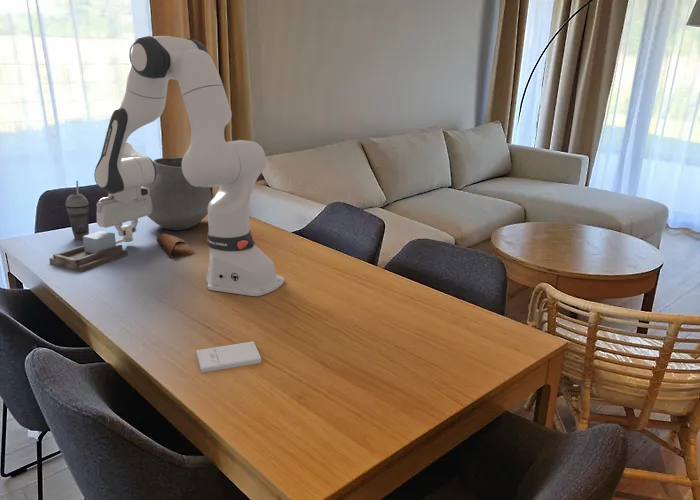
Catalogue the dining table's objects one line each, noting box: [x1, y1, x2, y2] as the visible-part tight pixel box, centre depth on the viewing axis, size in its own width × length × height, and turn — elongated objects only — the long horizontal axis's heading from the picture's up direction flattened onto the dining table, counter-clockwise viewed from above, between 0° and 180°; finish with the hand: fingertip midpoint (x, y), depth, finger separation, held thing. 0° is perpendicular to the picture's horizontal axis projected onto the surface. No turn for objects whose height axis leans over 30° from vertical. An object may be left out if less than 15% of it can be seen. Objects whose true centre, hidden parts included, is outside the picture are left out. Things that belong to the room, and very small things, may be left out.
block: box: [82, 224, 134, 253], centre depth 181 cm, size 6×16×5 cm, turn 153°
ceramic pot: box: [143, 156, 213, 231], centre depth 205 cm, size 24×24×25 cm
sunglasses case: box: [156, 233, 196, 259], centre depth 186 cm, size 18×7×7 cm
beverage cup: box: [65, 180, 90, 241], centre depth 191 cm, size 7×7×20 cm
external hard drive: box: [196, 340, 262, 374], centre depth 120 cm, size 2×8×12 cm
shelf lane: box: [48, 244, 128, 273], centre depth 175 cm, size 14×17×3 cm
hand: (127, 233), depth 187 cm, fingers closed on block, 3 cm apart
